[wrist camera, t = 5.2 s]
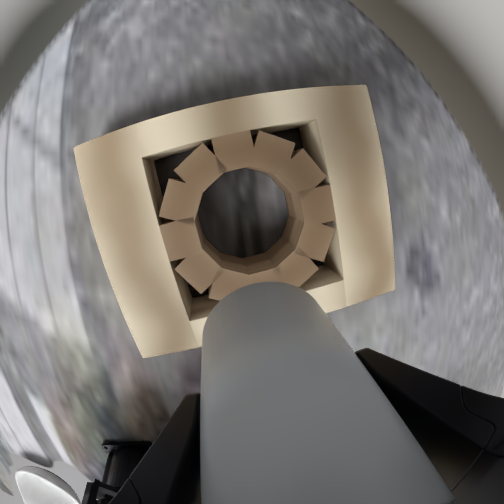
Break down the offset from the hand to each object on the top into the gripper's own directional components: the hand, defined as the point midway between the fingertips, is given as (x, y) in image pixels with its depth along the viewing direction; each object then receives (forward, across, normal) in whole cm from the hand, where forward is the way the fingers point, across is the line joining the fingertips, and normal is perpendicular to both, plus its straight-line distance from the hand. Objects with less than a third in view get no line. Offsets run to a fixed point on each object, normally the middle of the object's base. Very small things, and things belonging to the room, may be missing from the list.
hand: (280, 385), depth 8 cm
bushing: (+2, 0, 0) cm, 2 cm away
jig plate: (+13, -1, -3) cm, 14 cm away
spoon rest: (+12, +43, +33) cm, 55 cm away
